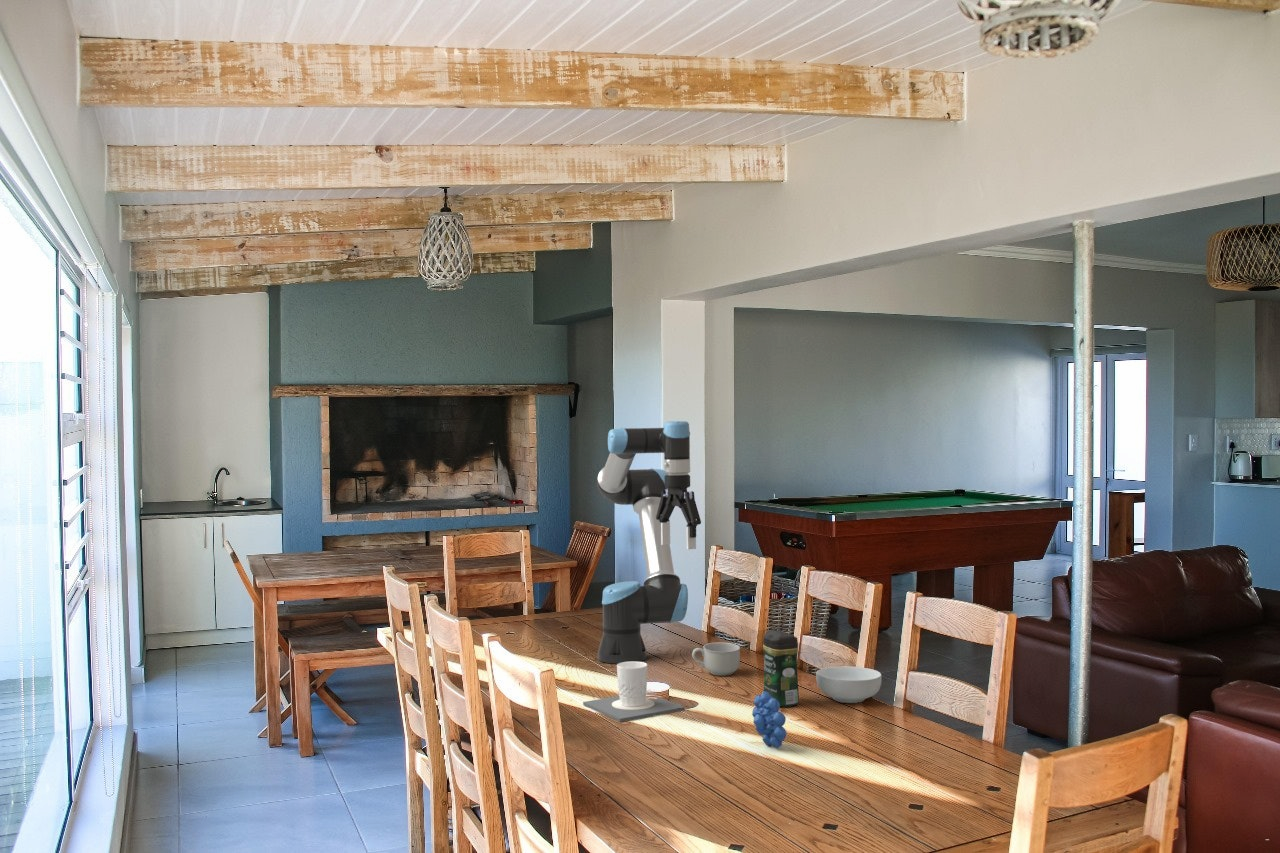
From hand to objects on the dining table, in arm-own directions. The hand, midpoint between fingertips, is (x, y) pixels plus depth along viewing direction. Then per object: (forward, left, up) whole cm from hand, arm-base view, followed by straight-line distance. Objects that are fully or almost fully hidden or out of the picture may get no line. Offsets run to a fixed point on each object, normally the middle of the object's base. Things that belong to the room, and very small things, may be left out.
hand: (678, 546), depth 315 cm
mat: (+25, -31, -37) cm, 54 cm away
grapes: (+70, -23, -37) cm, 82 cm away
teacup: (+7, +8, -37) cm, 38 cm away
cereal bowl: (+50, +20, -37) cm, 65 cm away
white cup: (+25, -31, -36) cm, 54 cm away
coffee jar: (+43, +3, -37) cm, 57 cm away
